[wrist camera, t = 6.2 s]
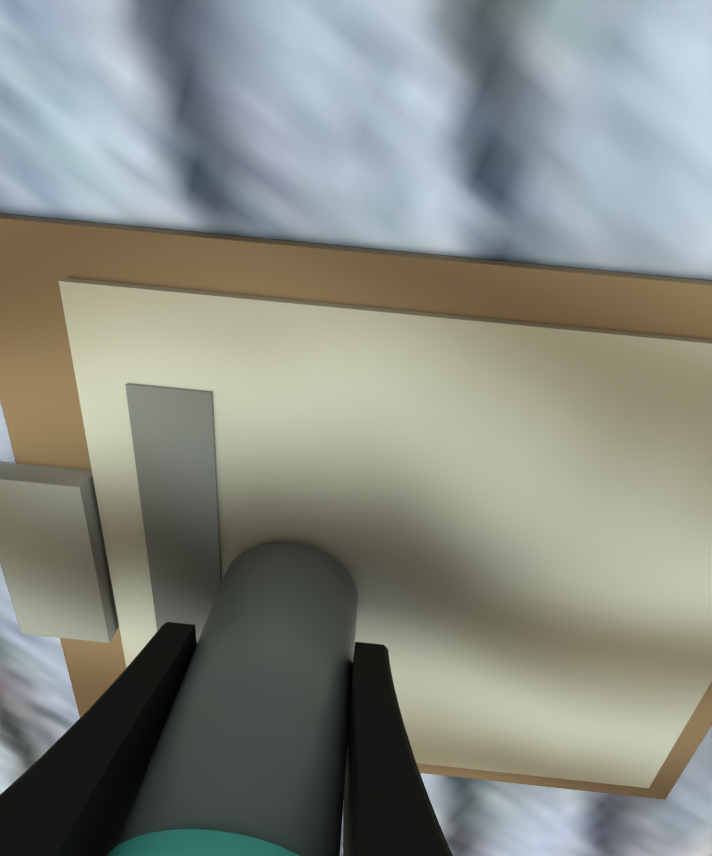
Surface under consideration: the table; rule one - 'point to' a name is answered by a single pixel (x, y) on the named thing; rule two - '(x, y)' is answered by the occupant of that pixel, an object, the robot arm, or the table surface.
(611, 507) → the clipboard
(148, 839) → the teal topped grey cylinder
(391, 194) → the table surface
